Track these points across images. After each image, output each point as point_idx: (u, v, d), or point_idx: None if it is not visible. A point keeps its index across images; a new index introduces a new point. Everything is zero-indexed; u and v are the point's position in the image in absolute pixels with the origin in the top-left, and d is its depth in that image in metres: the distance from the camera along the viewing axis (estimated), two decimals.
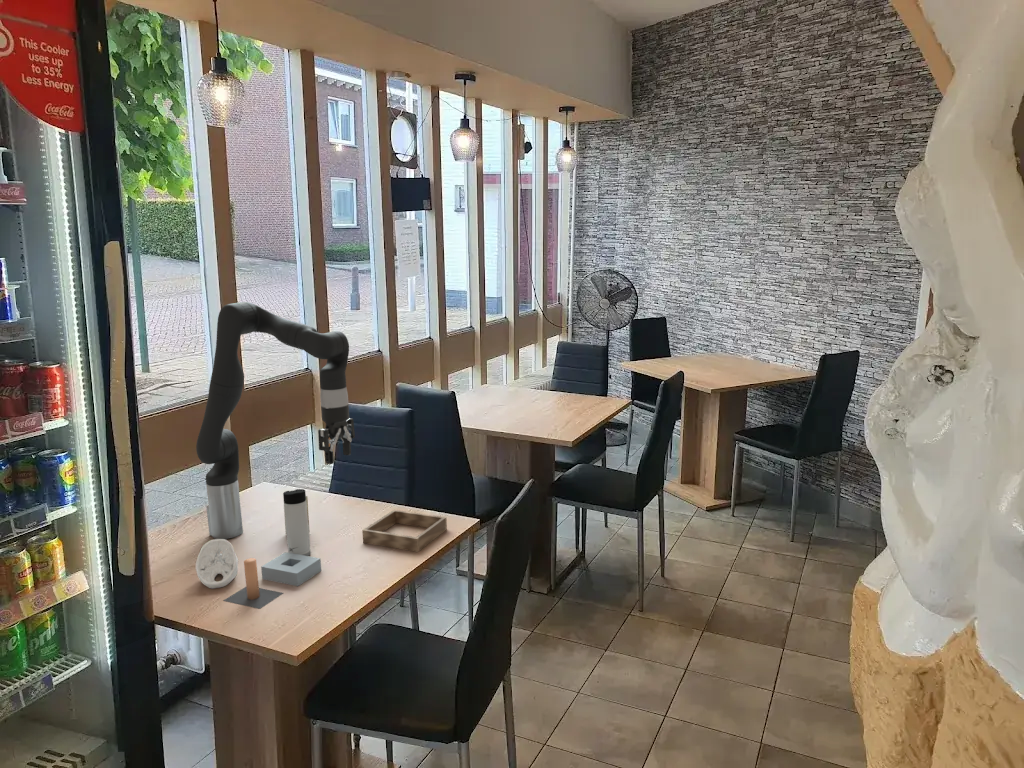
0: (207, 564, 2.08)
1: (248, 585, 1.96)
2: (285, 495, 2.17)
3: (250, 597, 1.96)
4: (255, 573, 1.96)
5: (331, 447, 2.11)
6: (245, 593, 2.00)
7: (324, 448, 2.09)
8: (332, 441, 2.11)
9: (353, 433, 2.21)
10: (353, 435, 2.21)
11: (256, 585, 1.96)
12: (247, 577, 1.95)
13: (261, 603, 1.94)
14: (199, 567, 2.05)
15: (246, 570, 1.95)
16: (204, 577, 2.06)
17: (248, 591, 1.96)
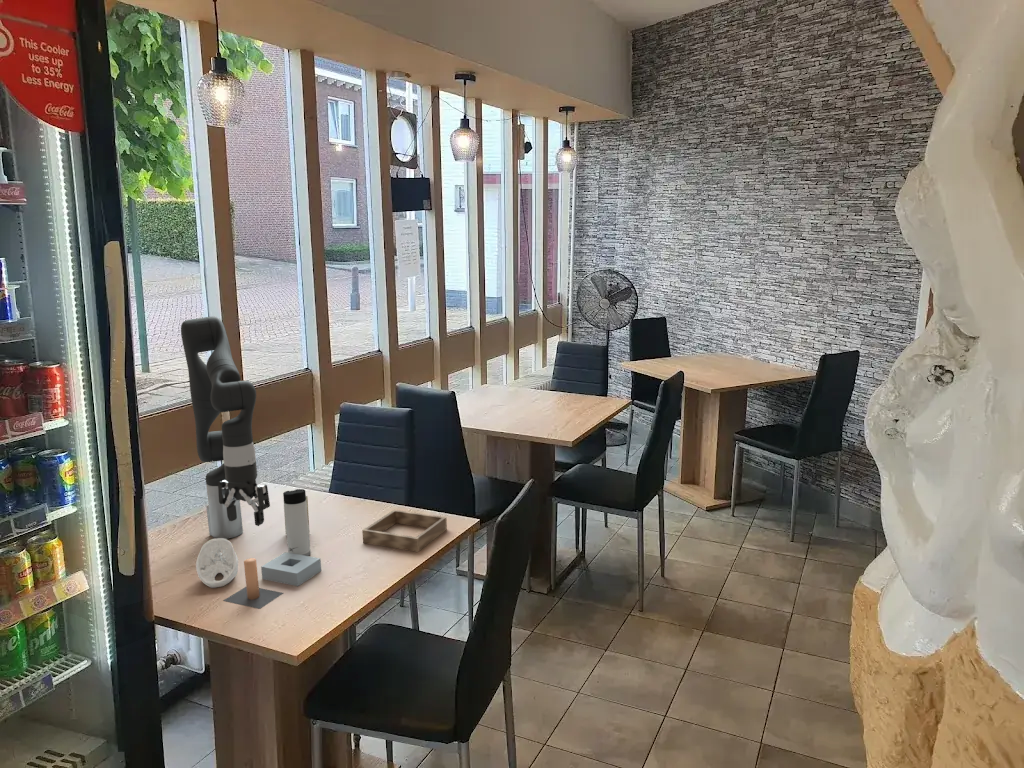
0: (207, 563, 2.09)
1: (248, 585, 1.96)
2: (285, 495, 2.17)
3: (250, 597, 1.96)
4: (255, 573, 1.96)
5: None
6: (245, 593, 2.00)
7: (267, 505, 1.90)
8: None
9: None
10: None
11: (256, 585, 1.96)
12: (247, 577, 1.95)
13: (261, 603, 1.94)
14: (199, 566, 2.06)
15: (246, 570, 1.95)
16: (204, 576, 2.06)
17: (248, 591, 1.96)
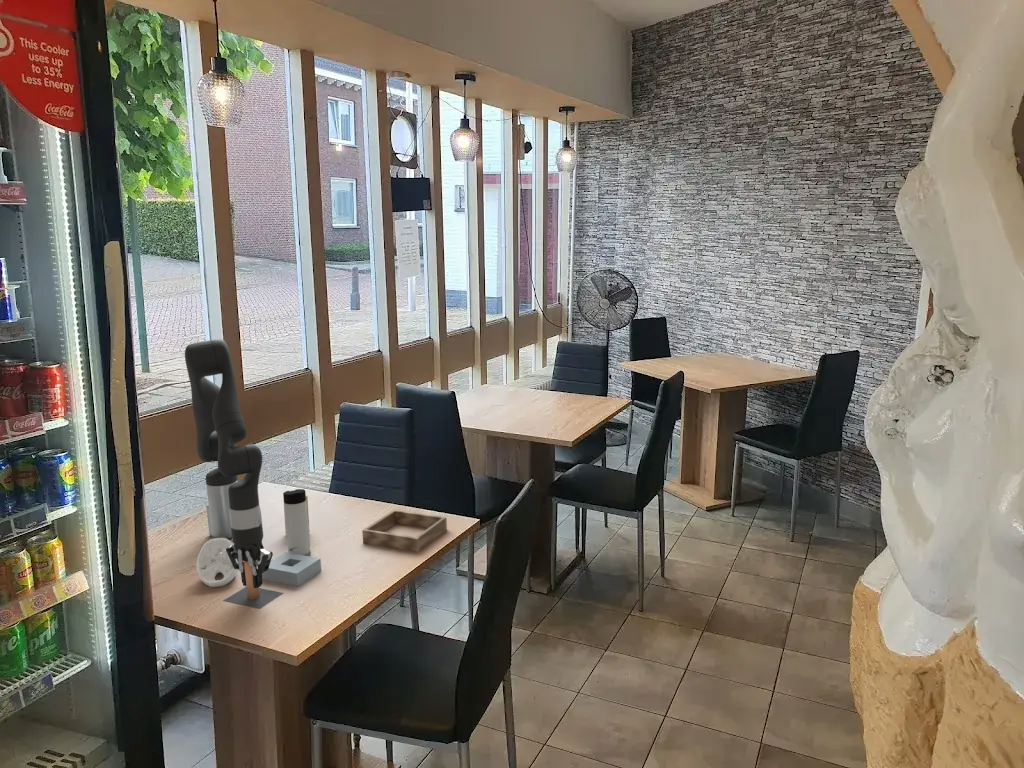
0: (207, 563, 2.09)
1: (248, 585, 1.96)
2: (285, 495, 2.17)
3: (250, 597, 1.96)
4: None
5: None
6: (245, 593, 2.00)
7: (266, 569, 1.95)
8: (261, 561, 1.96)
9: None
10: None
11: None
12: (247, 577, 1.95)
13: (261, 603, 1.94)
14: (200, 566, 2.06)
15: (246, 570, 1.95)
16: (205, 576, 2.07)
17: (248, 591, 1.96)
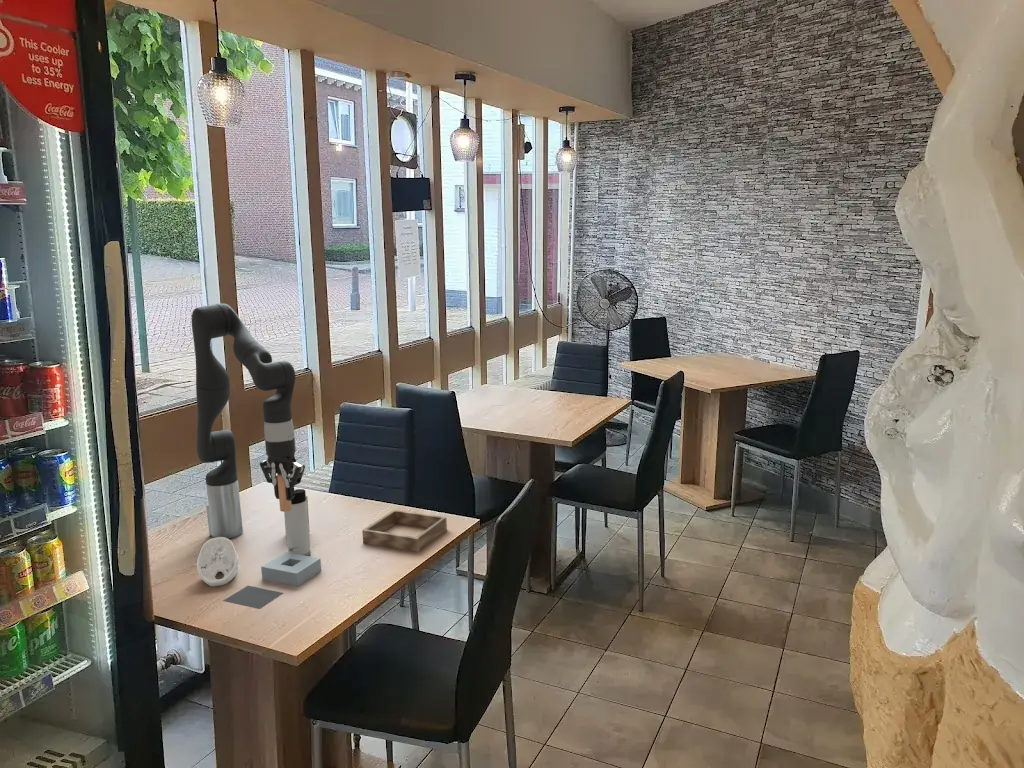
0: (208, 562, 2.09)
1: (281, 497, 2.04)
2: None
3: (283, 509, 2.05)
4: None
5: None
6: (245, 593, 2.00)
7: (298, 482, 2.03)
8: (293, 475, 2.04)
9: None
10: None
11: None
12: (280, 490, 2.04)
13: (261, 603, 1.94)
14: (200, 565, 2.07)
15: (279, 483, 2.03)
16: (205, 575, 2.07)
17: (281, 503, 2.04)
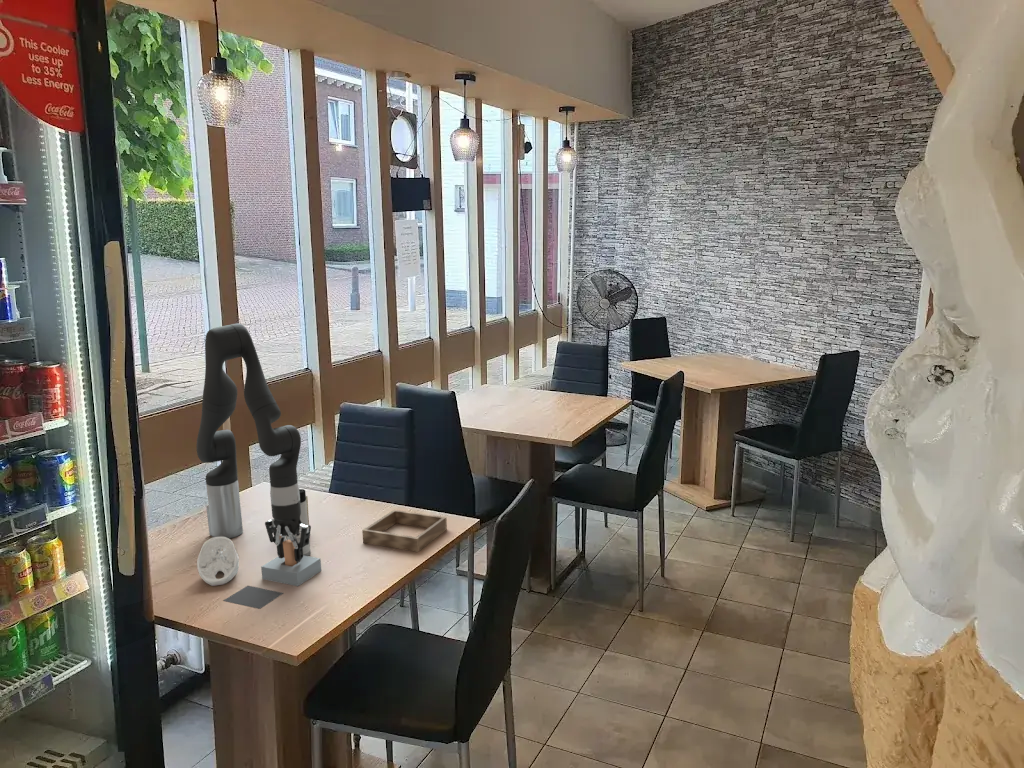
0: (208, 562, 2.10)
1: (287, 565, 2.08)
2: None
3: None
4: (293, 553, 2.08)
5: None
6: (245, 593, 2.00)
7: (307, 543, 2.06)
8: (300, 536, 2.08)
9: None
10: None
11: None
12: (286, 557, 2.08)
13: (261, 603, 1.94)
14: (200, 564, 2.07)
15: (285, 550, 2.07)
16: (205, 574, 2.07)
17: None
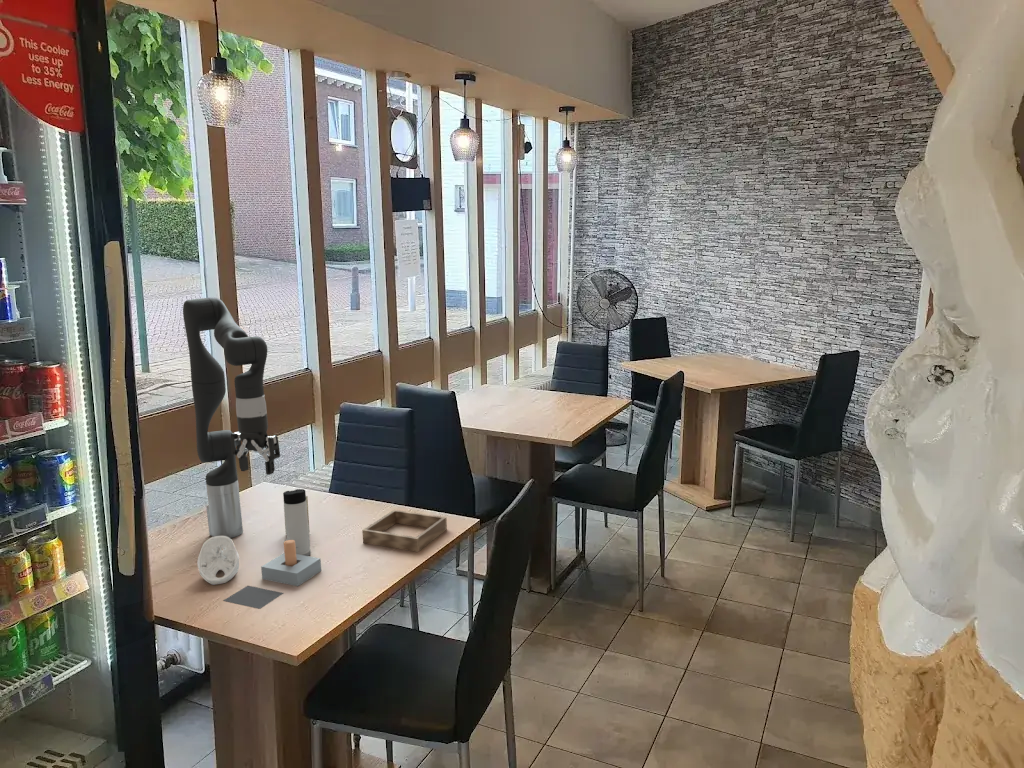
0: (208, 561, 2.10)
1: (287, 565, 2.08)
2: (285, 495, 2.17)
3: None
4: (294, 554, 2.08)
5: None
6: (245, 593, 2.00)
7: (278, 455, 2.00)
8: None
9: None
10: None
11: None
12: (287, 557, 2.07)
13: (261, 603, 1.94)
14: (201, 564, 2.08)
15: (286, 551, 2.07)
16: (206, 573, 2.08)
17: None
